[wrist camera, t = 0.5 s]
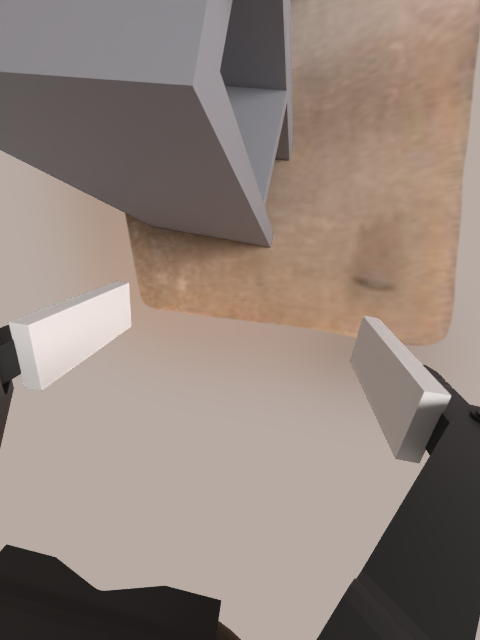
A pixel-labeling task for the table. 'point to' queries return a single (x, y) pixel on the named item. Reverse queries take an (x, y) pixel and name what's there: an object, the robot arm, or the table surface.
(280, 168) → the table surface
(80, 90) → the shelf
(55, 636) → the robot arm
